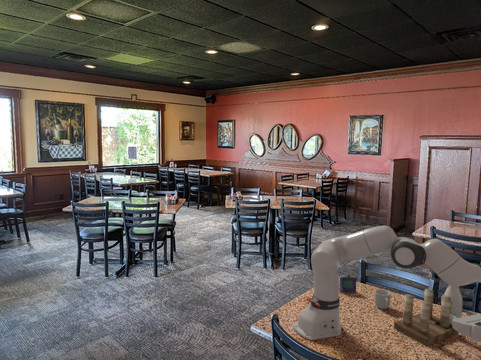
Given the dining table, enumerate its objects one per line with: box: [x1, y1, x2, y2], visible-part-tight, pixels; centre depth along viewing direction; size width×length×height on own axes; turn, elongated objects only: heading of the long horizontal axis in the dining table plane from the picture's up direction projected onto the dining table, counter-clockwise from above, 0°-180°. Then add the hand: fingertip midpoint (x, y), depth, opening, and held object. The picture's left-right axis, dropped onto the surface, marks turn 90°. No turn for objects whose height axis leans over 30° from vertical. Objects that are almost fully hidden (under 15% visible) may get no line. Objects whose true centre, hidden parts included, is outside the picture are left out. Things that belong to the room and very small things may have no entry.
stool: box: [393, 288, 459, 347], centre depth 154 cm, size 22×16×16 cm
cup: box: [374, 288, 392, 310], centre depth 176 cm, size 11×8×8 cm
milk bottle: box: [443, 284, 463, 324], centre depth 163 cm, size 8×8×20 cm
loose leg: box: [439, 294, 451, 329], centre depth 154 cm, size 4×4×16 cm
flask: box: [339, 272, 357, 293], centre depth 197 cm, size 9×3×11 cm, turn 84°
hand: (459, 314), depth 147 cm, fingers open, 8 cm apart
